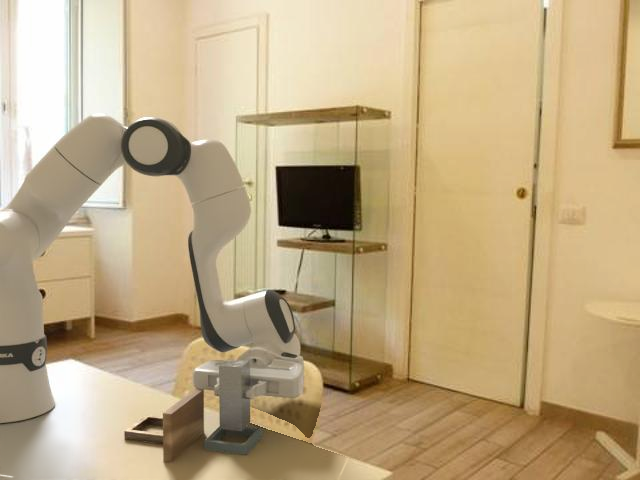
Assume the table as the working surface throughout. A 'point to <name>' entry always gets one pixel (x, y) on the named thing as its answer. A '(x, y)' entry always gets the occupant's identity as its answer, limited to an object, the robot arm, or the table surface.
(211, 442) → the keeper socket
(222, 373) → the block
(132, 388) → the table surface
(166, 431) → the board
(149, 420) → the key socket
